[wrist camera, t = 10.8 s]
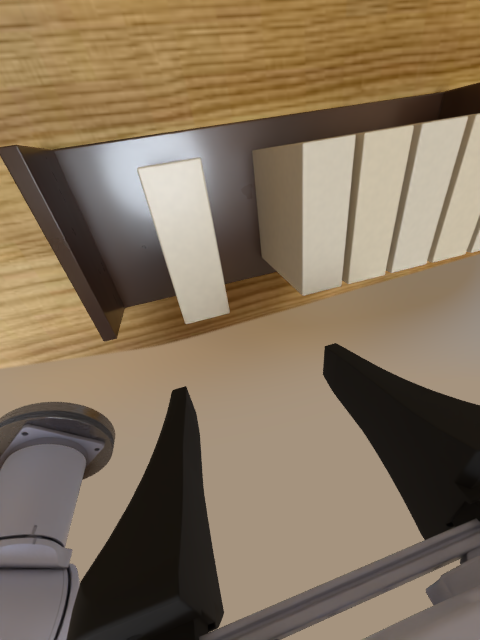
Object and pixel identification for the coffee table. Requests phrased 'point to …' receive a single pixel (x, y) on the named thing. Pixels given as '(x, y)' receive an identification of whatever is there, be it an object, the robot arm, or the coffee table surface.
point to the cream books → (369, 202)
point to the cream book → (186, 236)
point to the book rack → (222, 186)
